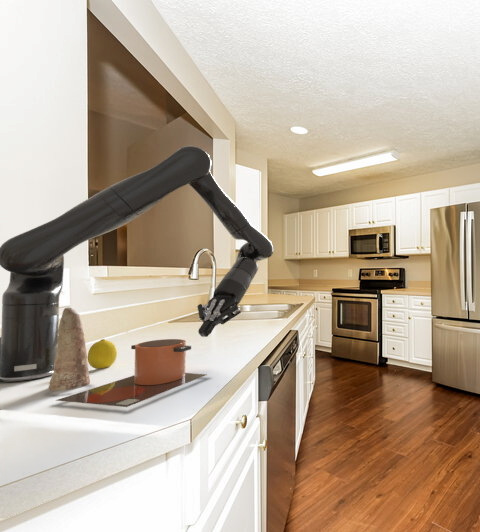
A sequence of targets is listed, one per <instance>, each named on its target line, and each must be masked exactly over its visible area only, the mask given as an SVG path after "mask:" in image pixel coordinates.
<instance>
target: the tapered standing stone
mask: <svg viewBox="0 0 480 532" xmlns="http://www.w3.org/2000/svg"><path fill="white" fill-rule="evenodd" d="M57 342H58V346H57V349H56V357H55V361H54V371H53V375H51V377H50V379H49V385H48V391H49V392H57V391H65V390H71V389H72V390H73V389H77V388H81V387H85V386H88V385H90V383H91V379H90V373H89V362H88V352H87V346H86V338H85V332H84V328H83V323H82V319H81V315H80V313H78V311H76V310H75V309H74V308H72V307H65V308H63V310H62V314H61V317H60V320H59V325H58V338H57Z"/></svg>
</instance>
